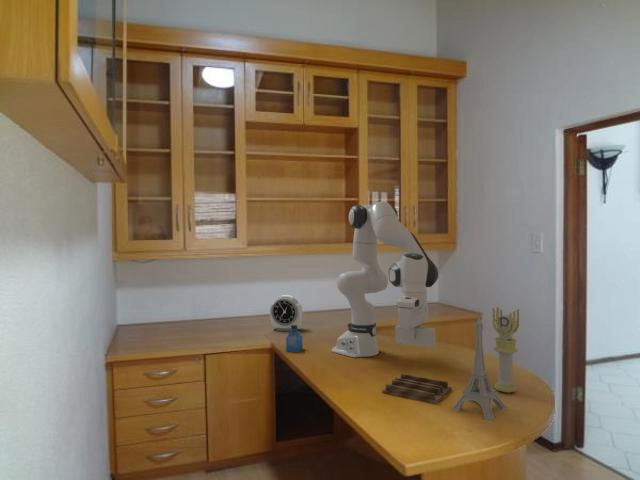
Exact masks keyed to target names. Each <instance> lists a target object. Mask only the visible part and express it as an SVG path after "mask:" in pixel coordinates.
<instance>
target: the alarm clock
mask: <svg viewBox="0 0 640 480" xmlns="http://www.w3.org/2000/svg"><path fill="white" fill-rule="evenodd" d="M269 318H270V320H269V321H270V325H271V328H276V331H277V332H291V325H297V328H298V329H299V328H300V327H301V326H302V323H303V306H302V304H301V302H299V301H298V299H296V298H294V296H293V295H290V294H283V295H280V296H278V297H277V300H275V301H274V302H272V303H271V305H270V307H269Z"/></svg>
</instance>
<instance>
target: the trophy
mask: <svg viewBox="0 0 640 480" xmlns="http://www.w3.org/2000/svg"><path fill="white" fill-rule="evenodd" d="M492 325H493V329H494V330H495V332H496V333H497V334H498V337H495V338H494V340H495V341H496V342H495V343H496V345H495V347H493V350H494V351H495V352H497V353H498V379H497V381H496V383H495V384H494V389H495V390H497V391H498V392H502V393H506V394H507V393H515V392H516V391H517V389H518V388H517V386H516V383H515V382H514V380H513V354H516V353H517V352H519V349H517V347H516V342H518V341H517V339H516V338H514V337H513V335H514V334H515V333H517V331H518V329H519V327H520V309H517V310H513V311H512V312H509V313H508V314H504V315H503V310H502V309H500V308H499V306H496V309H495V308H494V307H492Z"/></svg>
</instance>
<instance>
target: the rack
mask: <svg viewBox="0 0 640 480" xmlns="http://www.w3.org/2000/svg"><path fill="white" fill-rule="evenodd" d="M448 383H449V382H448V381H445V380H439V379H435V378H429V377H425V376H424V377H423V376H419V375H412V374H407V373H400V377H394V379H392V380H391V383H386V384H385V387H384V388H383V389H382V391H381V392H382V394H385V393H386V395H390V396H395V397H400V398H404V399H410V400H414V401H419V402H424V403H428V404H433V405H437V404H439V402H440V401H441V400H443V398H444V397H445V396H447V395H448V394H449V393H450V392H451V391H452V387H451V386H449V384H448Z"/></svg>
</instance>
